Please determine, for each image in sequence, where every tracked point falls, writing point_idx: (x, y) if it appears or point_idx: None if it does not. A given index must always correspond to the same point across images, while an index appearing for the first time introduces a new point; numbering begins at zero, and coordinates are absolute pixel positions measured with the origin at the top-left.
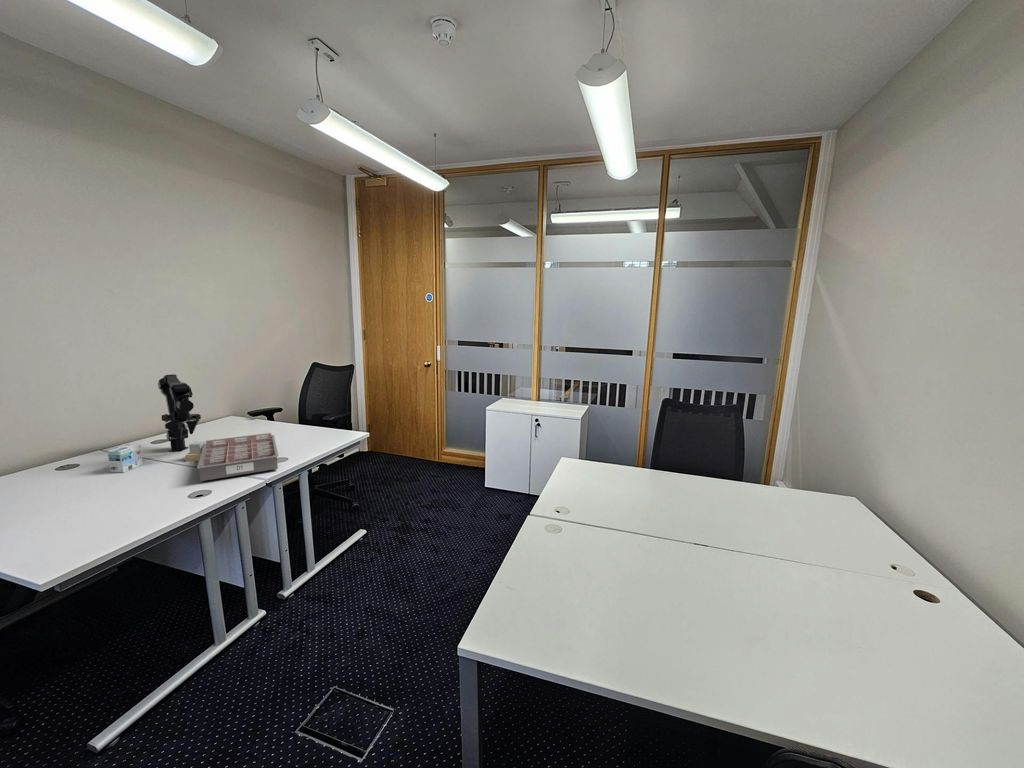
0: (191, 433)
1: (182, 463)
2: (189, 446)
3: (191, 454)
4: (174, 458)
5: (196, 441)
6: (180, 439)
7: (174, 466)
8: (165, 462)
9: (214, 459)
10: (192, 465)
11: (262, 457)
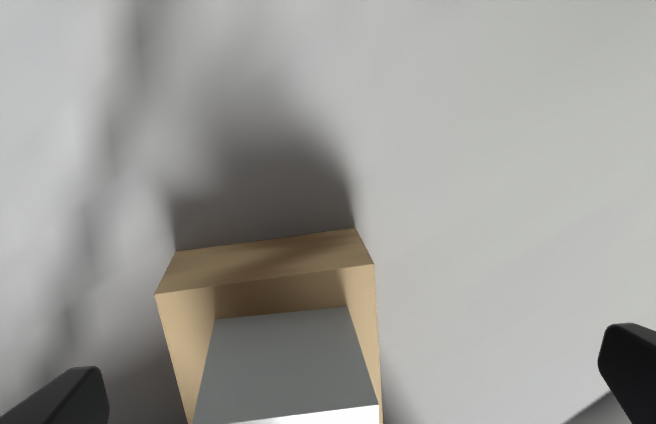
0: (615, 371)
1: (121, 249)
2: (197, 400)
3: (187, 351)
4: (295, 24)
5: (378, 422)
6: (94, 420)
7: (12, 230)
8: (132, 10)
9: None
10: None
11: None
